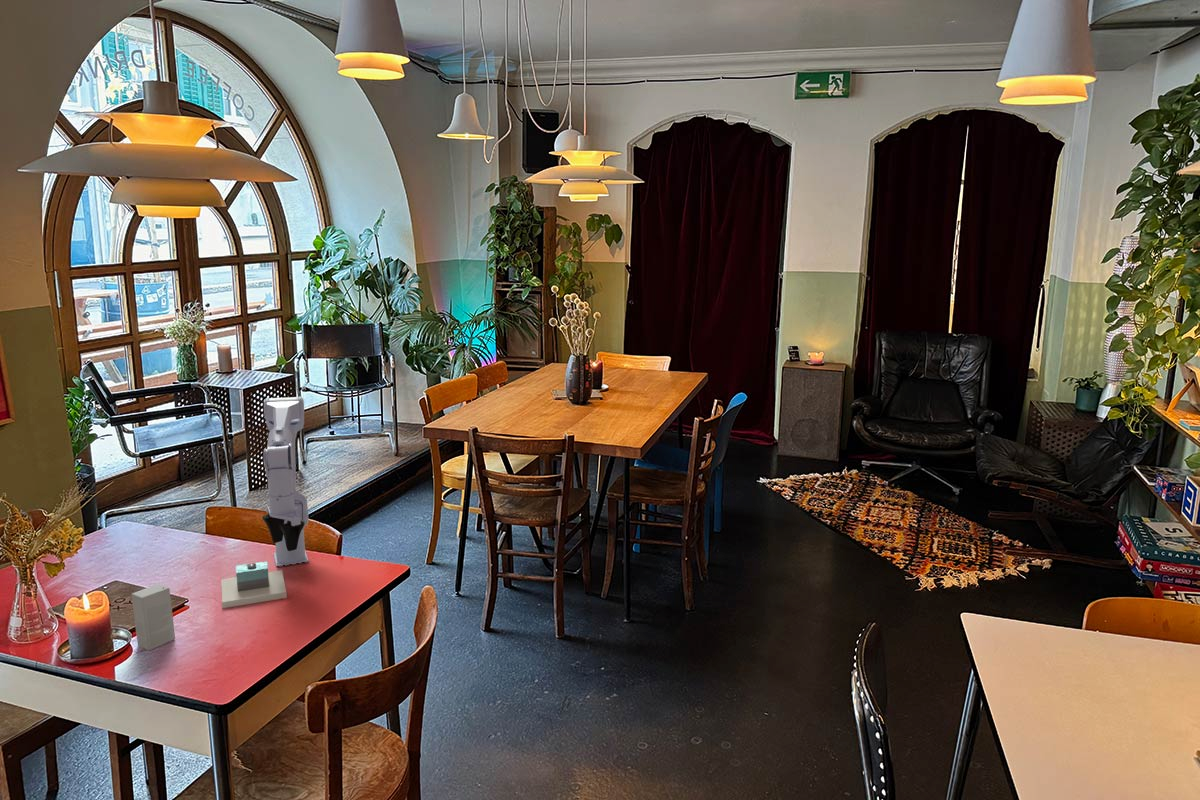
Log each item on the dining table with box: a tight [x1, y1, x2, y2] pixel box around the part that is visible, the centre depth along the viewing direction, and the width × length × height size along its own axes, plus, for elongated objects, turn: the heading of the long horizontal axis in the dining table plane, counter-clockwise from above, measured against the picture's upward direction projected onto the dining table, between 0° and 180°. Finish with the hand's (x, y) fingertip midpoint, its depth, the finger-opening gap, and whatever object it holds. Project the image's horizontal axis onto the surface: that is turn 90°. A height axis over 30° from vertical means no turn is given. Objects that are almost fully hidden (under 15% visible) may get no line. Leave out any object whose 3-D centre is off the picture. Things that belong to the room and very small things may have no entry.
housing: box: [235, 561, 269, 592], centre depth 197 cm, size 5×7×5 cm, turn 114°
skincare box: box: [130, 583, 176, 652], centre depth 172 cm, size 6×4×12 cm
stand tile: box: [220, 569, 288, 609], centre depth 198 cm, size 14×14×2 cm
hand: (284, 545), depth 202 cm, fingers open, 7 cm apart
